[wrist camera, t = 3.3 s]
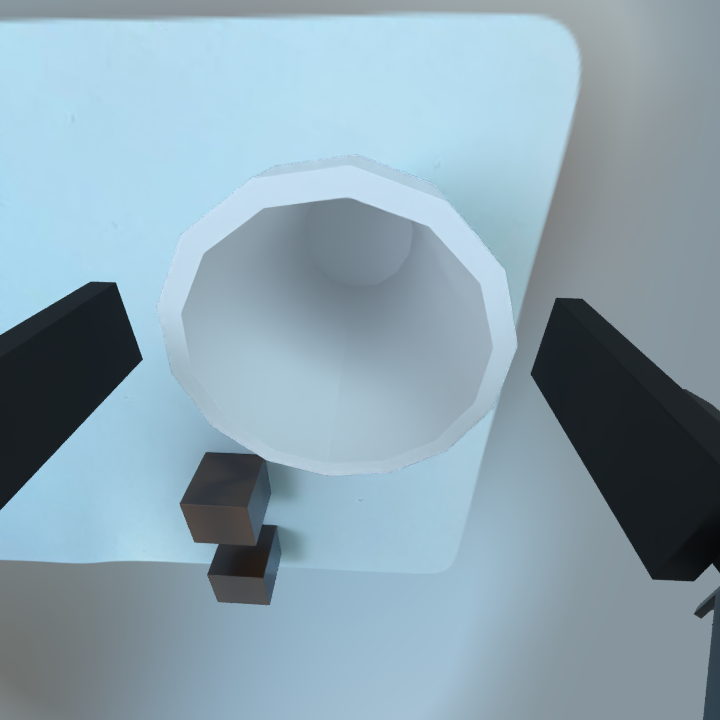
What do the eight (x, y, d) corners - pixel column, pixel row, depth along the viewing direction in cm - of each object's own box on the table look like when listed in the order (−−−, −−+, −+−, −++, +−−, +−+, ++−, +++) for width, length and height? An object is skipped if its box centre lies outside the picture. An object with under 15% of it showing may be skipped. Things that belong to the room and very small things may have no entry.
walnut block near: (264, 455, 31) (247, 507, 27) (271, 493, 34) (256, 546, 30) (205, 452, 32) (179, 503, 27) (216, 490, 34) (194, 542, 30)
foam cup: (444, 122, 18) (542, 138, 7) (445, 300, 23) (503, 467, 12) (254, 150, 19) (87, 201, 8) (294, 314, 24) (224, 481, 13)
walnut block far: (276, 525, 37) (263, 578, 33) (281, 553, 40) (269, 605, 36) (226, 522, 37) (206, 574, 33) (234, 550, 40) (217, 602, 36)
